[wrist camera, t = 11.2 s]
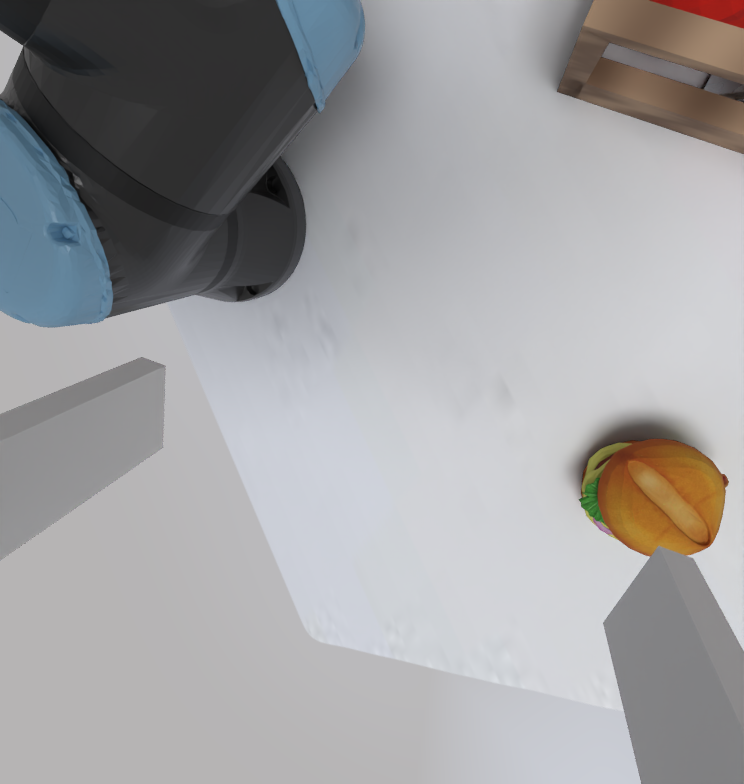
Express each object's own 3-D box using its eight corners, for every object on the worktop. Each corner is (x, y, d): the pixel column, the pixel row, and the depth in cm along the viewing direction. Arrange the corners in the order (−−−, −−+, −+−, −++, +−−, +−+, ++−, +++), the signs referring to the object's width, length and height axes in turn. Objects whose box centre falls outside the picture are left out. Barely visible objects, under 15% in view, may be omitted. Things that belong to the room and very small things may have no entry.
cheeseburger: (557, 511, 44) (577, 561, 34) (589, 410, 42) (619, 432, 32) (667, 544, 42) (721, 607, 32) (706, 439, 40) (776, 472, 30)
